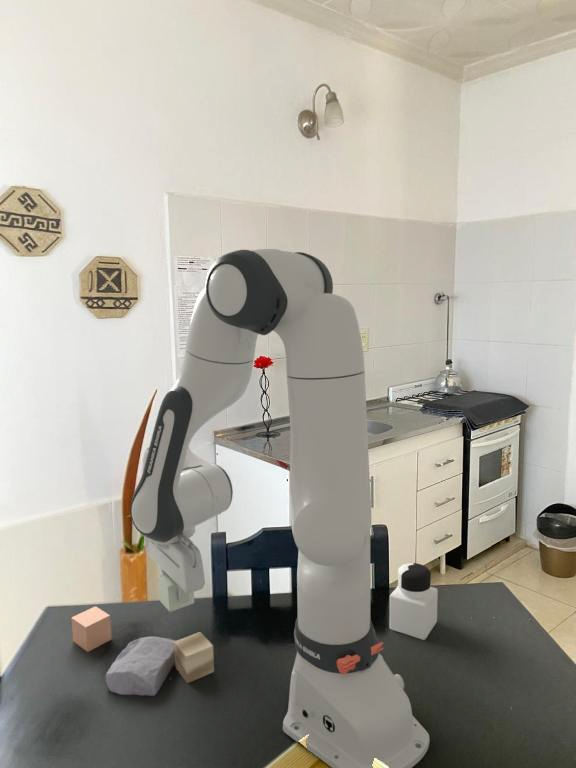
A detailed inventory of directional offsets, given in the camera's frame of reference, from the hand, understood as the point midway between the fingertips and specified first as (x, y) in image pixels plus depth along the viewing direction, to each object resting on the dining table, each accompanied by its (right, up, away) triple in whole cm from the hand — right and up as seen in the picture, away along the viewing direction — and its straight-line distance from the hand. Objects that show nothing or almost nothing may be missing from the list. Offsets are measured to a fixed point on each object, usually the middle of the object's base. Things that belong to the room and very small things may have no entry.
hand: (176, 593), depth 110 cm
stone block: (-4, -10, -11) cm, 15 cm away
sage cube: (0, -2, 0) cm, 2 cm away
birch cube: (+5, -9, -10) cm, 15 cm away
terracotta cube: (-15, -8, -2) cm, 18 cm away
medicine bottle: (+46, -7, +1) cm, 46 cm away
